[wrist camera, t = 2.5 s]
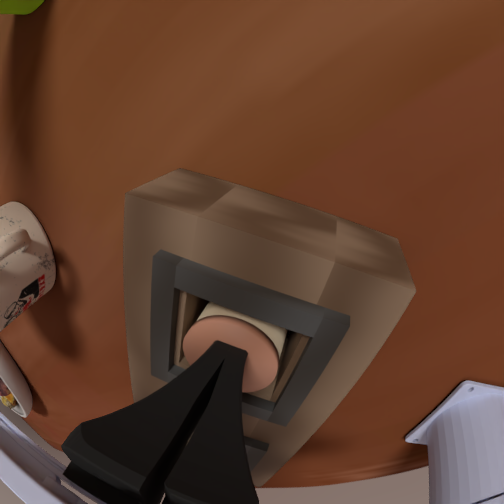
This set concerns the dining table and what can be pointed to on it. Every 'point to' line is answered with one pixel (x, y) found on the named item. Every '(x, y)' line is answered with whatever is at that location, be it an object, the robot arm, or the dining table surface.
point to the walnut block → (258, 297)
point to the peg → (238, 342)
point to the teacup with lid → (22, 261)
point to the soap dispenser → (19, 6)
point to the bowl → (13, 385)
